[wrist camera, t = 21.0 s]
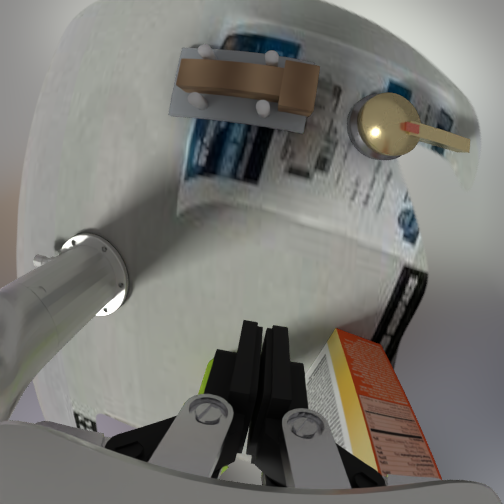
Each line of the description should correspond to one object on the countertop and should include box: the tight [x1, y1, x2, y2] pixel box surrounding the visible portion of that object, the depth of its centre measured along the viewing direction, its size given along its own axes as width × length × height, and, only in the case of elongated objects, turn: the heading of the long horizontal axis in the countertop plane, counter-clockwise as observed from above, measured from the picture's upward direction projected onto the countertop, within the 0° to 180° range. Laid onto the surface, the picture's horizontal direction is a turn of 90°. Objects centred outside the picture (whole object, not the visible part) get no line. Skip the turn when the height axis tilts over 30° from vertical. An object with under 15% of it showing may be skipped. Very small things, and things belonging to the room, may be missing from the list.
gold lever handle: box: [357, 93, 470, 156], centre depth 29 cm, size 14×7×3 cm, turn 85°
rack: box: [168, 44, 315, 134], centre depth 30 cm, size 16×9×5 cm, turn 81°
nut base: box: [347, 94, 401, 160], centre depth 32 cm, size 12×8×2 cm, turn 81°
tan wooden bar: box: [176, 58, 320, 117], centre depth 30 cm, size 15×5×4 cm, turn 81°
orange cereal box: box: [305, 328, 442, 480], centre depth 30 cm, size 23×8×30 cm, turn 157°
